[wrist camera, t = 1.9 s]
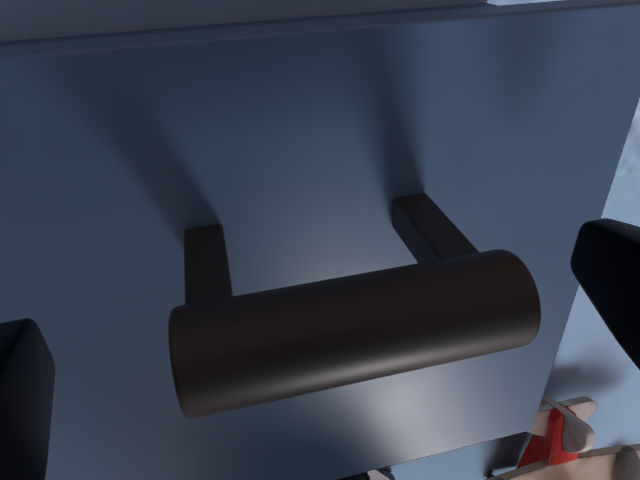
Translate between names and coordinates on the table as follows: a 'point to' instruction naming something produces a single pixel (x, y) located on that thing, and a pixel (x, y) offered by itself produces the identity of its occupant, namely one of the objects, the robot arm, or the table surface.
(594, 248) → the robot arm
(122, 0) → the table surface
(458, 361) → the lid
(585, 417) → the toy airplane
